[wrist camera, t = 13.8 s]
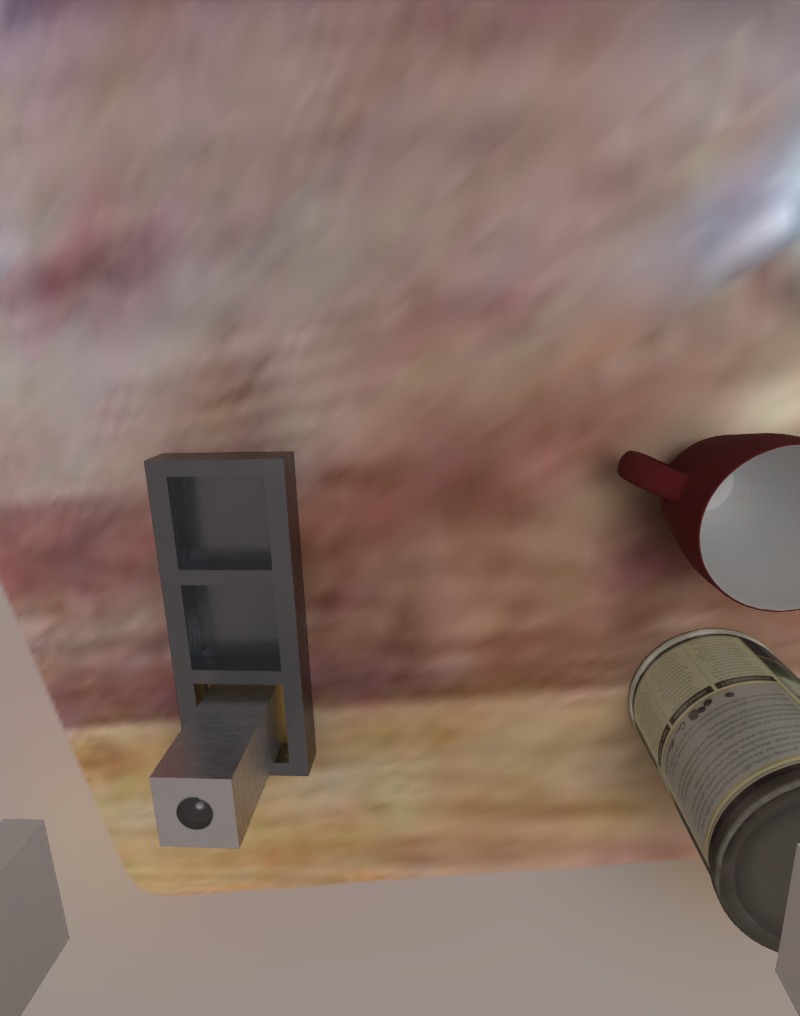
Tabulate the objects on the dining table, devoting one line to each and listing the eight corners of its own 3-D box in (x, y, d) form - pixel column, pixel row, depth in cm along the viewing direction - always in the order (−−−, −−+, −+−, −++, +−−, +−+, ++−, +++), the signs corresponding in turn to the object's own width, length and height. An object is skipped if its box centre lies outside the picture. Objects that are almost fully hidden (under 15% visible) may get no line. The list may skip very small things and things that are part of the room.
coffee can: (810, 644, 39) (1004, 804, 26) (753, 776, 42) (901, 983, 28) (654, 610, 39) (764, 751, 26) (607, 743, 42) (684, 934, 29)
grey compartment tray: (160, 453, 39) (142, 460, 37) (293, 451, 38) (283, 458, 36) (200, 749, 45) (186, 773, 42) (316, 752, 44) (308, 776, 42)
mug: (577, 523, 38) (621, 584, 29) (612, 395, 36) (673, 414, 26) (744, 555, 38) (845, 628, 28) (789, 429, 36) (916, 461, 26)
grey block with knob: (216, 678, 42) (148, 778, 33) (280, 679, 42) (230, 780, 32) (223, 734, 43) (159, 847, 34) (285, 735, 43) (238, 849, 33)
